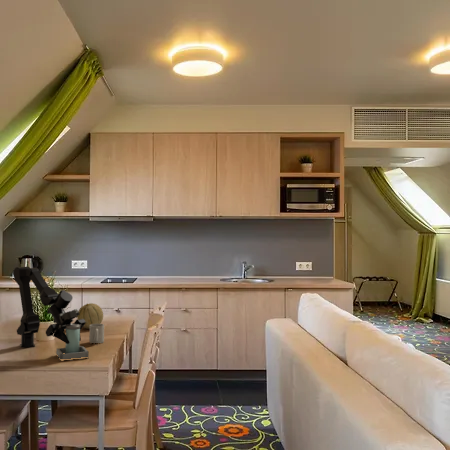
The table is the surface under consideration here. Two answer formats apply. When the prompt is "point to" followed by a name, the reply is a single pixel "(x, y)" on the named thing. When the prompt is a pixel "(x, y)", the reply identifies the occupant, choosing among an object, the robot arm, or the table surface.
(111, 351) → the table surface
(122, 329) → the table surface
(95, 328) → the cup
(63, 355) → the grey square tray
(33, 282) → the robot arm
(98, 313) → the seamed olive ball
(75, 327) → the canister
